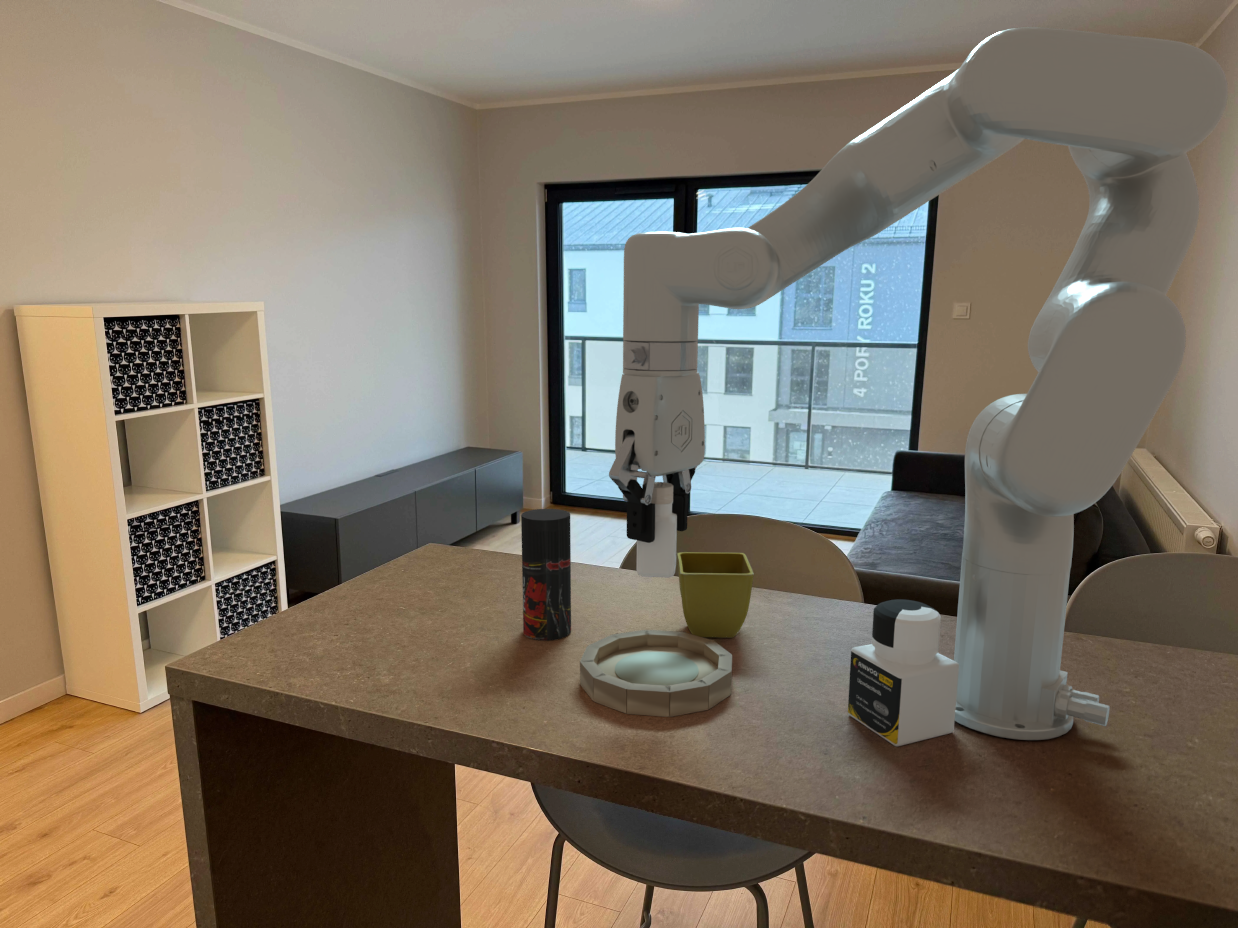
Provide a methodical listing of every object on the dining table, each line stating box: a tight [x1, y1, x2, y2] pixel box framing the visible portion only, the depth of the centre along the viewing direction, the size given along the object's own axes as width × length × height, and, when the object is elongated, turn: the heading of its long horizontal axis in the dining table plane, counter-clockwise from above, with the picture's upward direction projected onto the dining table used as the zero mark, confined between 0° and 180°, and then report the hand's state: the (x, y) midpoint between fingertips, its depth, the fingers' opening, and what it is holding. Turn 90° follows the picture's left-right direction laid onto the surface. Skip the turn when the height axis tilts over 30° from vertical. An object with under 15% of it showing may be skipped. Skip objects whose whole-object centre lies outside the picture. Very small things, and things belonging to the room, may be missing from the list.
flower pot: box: [676, 551, 755, 639], centre depth 104 cm, size 9×9×9 cm
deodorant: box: [520, 508, 572, 642], centre depth 103 cm, size 6×6×15 cm
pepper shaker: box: [635, 481, 678, 579], centre depth 88 cm, size 4×4×10 cm
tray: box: [579, 629, 733, 718], centre depth 90 cm, size 16×16×3 cm
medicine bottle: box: [847, 598, 959, 747], centre depth 80 cm, size 7×7×12 cm
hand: (657, 532), depth 88 cm, fingers closed on pepper shaker, 5 cm apart
